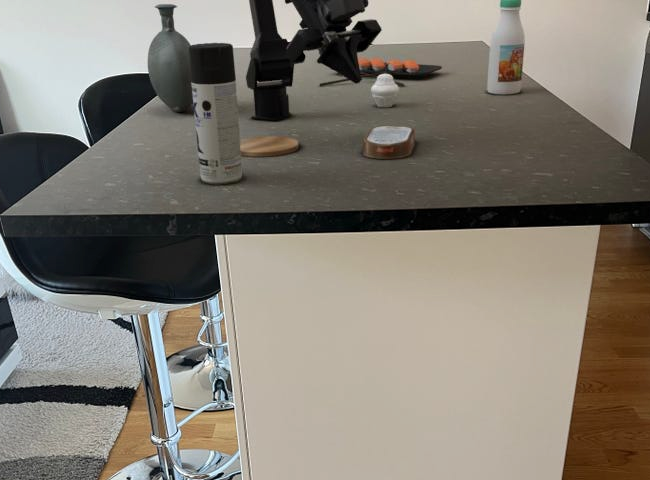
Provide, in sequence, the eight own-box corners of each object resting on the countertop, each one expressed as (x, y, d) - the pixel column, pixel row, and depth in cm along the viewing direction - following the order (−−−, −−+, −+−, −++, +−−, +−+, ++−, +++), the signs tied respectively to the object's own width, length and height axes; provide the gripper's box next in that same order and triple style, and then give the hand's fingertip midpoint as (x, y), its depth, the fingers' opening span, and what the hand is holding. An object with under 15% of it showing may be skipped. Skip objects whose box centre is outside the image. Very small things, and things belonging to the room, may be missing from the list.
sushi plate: (445, 73, 208) (446, 58, 206) (394, 91, 186) (394, 75, 184) (353, 67, 222) (352, 53, 220) (294, 84, 200) (293, 68, 198)
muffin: (374, 109, 168) (375, 75, 165) (367, 104, 173) (367, 71, 170) (402, 107, 169) (402, 74, 166) (394, 102, 174) (394, 69, 171)
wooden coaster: (219, 153, 138) (219, 148, 138) (254, 138, 147) (254, 134, 147) (277, 159, 133) (277, 154, 133) (310, 143, 142) (310, 139, 142)
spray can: (202, 174, 126) (188, 43, 116) (243, 172, 126) (233, 41, 117) (199, 186, 120) (185, 48, 110) (243, 183, 120) (232, 46, 111)
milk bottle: (483, 94, 180) (490, 0, 170) (490, 88, 186) (496, -3, 176) (517, 95, 177) (525, -1, 167) (522, 89, 183) (531, -3, 174)
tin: (359, 158, 132) (408, 163, 130) (360, 140, 130) (410, 144, 129) (371, 138, 144) (416, 142, 143) (372, 121, 143) (418, 124, 142)
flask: (207, 102, 181) (196, -1, 170) (200, 117, 166) (189, 5, 156) (157, 105, 181) (144, 1, 170) (146, 120, 166) (131, 8, 155)
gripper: (296, -25, 122) (345, 57, 121) (375, -32, 133) (421, 43, 132) (265, 24, 131) (311, 101, 130) (342, 13, 142) (385, 85, 141)
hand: (359, 81), depth 133 cm, fingers closed
